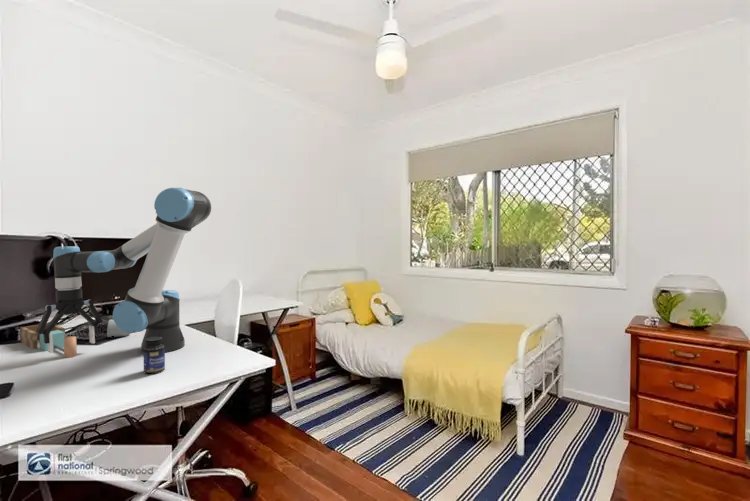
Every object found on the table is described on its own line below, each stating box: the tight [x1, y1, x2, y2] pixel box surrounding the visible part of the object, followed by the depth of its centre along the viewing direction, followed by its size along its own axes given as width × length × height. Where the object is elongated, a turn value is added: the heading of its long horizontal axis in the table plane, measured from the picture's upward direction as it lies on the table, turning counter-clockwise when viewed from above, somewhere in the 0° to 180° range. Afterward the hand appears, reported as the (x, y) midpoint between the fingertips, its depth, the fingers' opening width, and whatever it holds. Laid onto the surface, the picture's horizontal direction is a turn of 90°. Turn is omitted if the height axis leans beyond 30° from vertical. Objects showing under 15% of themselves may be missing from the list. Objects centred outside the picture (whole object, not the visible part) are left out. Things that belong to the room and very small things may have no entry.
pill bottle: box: [142, 337, 166, 374], centre depth 125 cm, size 6×6×11 cm
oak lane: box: [19, 322, 66, 350], centre depth 155 cm, size 16×10×6 cm, turn 56°
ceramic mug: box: [106, 318, 131, 338], centre depth 167 cm, size 11×8×8 cm
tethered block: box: [39, 330, 78, 359], centre depth 144 cm, size 22×6×7 cm, turn 57°
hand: (72, 347), depth 139 cm, fingers open, 12 cm apart
